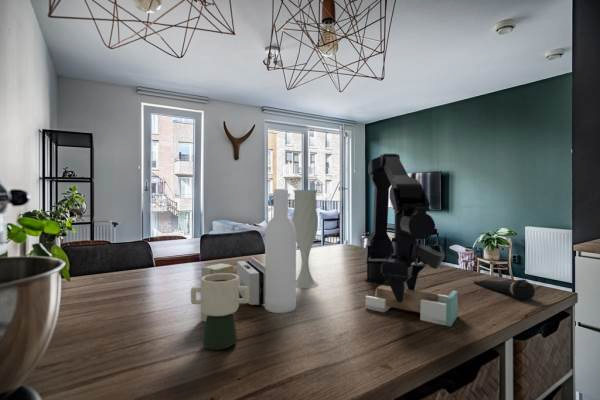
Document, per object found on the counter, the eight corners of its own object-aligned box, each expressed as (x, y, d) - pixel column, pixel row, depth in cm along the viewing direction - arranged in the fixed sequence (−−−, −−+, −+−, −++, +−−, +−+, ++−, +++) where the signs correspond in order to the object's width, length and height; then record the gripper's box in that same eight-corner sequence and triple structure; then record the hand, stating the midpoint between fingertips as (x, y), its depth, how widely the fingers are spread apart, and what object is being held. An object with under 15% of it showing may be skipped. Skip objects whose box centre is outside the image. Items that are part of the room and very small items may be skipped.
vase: (286, 286, 105) (287, 190, 104) (297, 280, 113) (297, 190, 112) (313, 289, 102) (313, 190, 101) (322, 282, 109) (322, 190, 109)
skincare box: (213, 325, 74) (213, 269, 74) (200, 321, 76) (199, 267, 76) (234, 316, 79) (234, 264, 79) (220, 312, 82) (220, 262, 81)
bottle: (297, 303, 89) (297, 189, 88) (295, 313, 81) (295, 188, 80) (267, 302, 89) (267, 189, 89) (262, 313, 81) (262, 188, 81)
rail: (376, 303, 85) (376, 288, 85) (381, 300, 88) (381, 285, 88) (434, 315, 77) (434, 298, 77) (437, 311, 80) (437, 294, 80)
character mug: (250, 336, 68) (250, 272, 68) (247, 353, 61) (247, 281, 61) (195, 338, 67) (195, 273, 67) (185, 355, 60) (185, 282, 60)
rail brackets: (365, 308, 85) (365, 284, 85) (376, 300, 91) (377, 278, 91) (450, 326, 73) (451, 299, 73) (457, 316, 80) (457, 291, 79)
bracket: (236, 291, 100) (236, 257, 99) (252, 289, 101) (252, 256, 101) (249, 309, 84) (249, 269, 84) (268, 307, 86) (268, 268, 86)
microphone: (471, 293, 109) (528, 305, 89) (465, 277, 109) (521, 285, 90) (483, 287, 110) (542, 297, 91) (477, 270, 110) (535, 277, 91)
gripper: (431, 240, 70) (430, 315, 70) (449, 232, 85) (449, 293, 86) (380, 236, 77) (379, 305, 77) (405, 229, 92) (405, 286, 92)
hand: (405, 297), depth 83 cm, fingers open, 9 cm apart
